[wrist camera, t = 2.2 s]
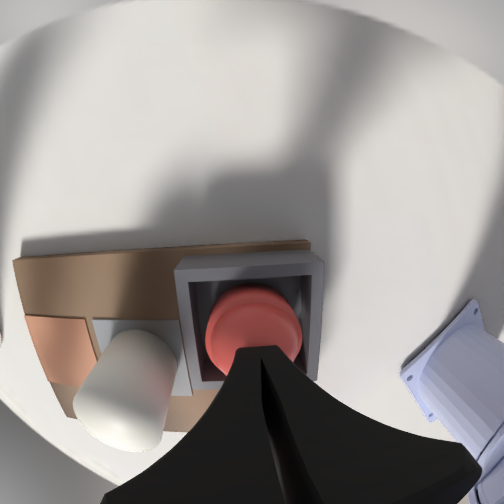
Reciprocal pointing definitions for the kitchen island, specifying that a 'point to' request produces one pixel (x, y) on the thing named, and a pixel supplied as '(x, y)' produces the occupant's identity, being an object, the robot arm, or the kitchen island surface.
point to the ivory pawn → (128, 392)
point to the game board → (114, 313)
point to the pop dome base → (240, 272)
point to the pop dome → (251, 323)
